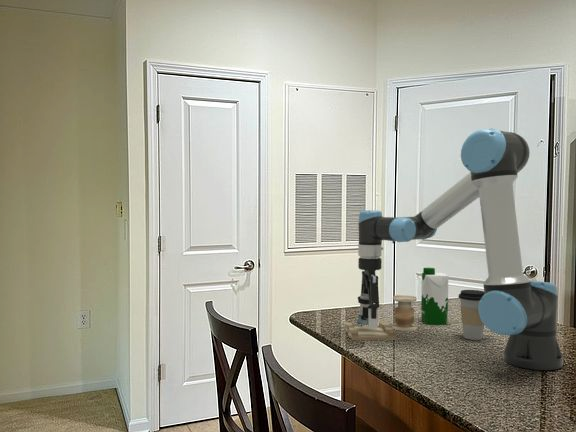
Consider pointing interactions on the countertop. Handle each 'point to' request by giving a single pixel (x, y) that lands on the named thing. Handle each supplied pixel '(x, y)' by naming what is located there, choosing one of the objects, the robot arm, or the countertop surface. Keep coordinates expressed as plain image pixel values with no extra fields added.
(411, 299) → the bobbin
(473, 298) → the coffee cup
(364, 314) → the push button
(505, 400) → the countertop surface
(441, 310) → the milk carton
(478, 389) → the countertop surface
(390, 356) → the countertop surface
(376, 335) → the terminal board
